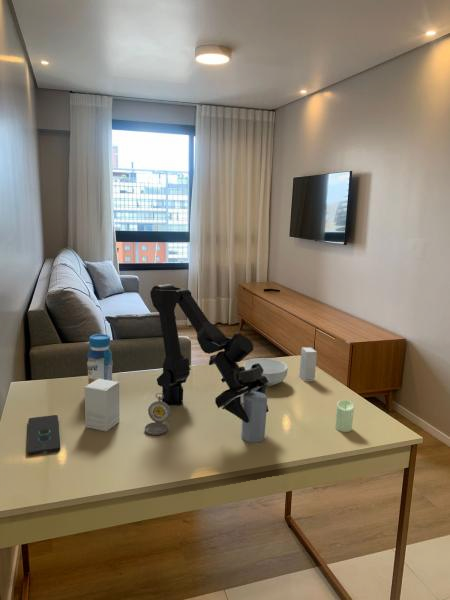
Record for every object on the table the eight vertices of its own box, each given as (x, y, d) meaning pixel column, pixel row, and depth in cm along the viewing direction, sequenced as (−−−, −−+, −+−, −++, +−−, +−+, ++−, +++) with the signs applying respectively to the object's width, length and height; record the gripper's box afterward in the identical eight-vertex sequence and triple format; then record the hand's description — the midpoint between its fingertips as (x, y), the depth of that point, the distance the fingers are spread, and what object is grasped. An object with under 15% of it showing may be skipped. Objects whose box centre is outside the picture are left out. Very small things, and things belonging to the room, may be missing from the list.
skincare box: (314, 381, 176) (317, 351, 173) (304, 381, 175) (307, 352, 173) (308, 375, 182) (311, 347, 179) (298, 376, 181) (301, 347, 178)
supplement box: (120, 421, 136) (120, 381, 133) (106, 432, 129) (106, 390, 126) (99, 416, 138) (99, 377, 136) (84, 427, 131) (83, 386, 129)
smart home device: (26, 451, 115) (28, 417, 133) (26, 458, 115) (28, 423, 133) (61, 446, 118) (58, 414, 136) (61, 452, 118) (58, 419, 136)
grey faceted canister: (255, 445, 126) (257, 402, 123) (236, 436, 130) (238, 395, 127) (268, 436, 131) (271, 396, 128) (250, 429, 135) (252, 389, 132)
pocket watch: (148, 438, 127) (149, 404, 125) (139, 425, 134) (140, 393, 132) (176, 432, 131) (176, 400, 129) (166, 420, 138) (166, 389, 136)
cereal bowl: (244, 372, 182) (245, 356, 180) (286, 376, 179) (287, 359, 178) (240, 388, 165) (241, 370, 164) (286, 393, 163) (287, 374, 162)
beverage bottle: (116, 394, 155) (116, 338, 151) (92, 399, 150) (91, 341, 146) (107, 386, 162) (107, 332, 158) (84, 390, 157) (83, 334, 153)
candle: (350, 433, 135) (353, 407, 133) (333, 430, 137) (336, 404, 135) (352, 426, 140) (355, 401, 138) (335, 423, 141) (338, 398, 140)
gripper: (225, 363, 121) (255, 415, 116) (265, 349, 135) (294, 394, 130) (202, 383, 128) (230, 432, 123) (243, 367, 142) (269, 411, 137)
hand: (257, 417), depth 128 cm, fingers open, 9 cm apart
